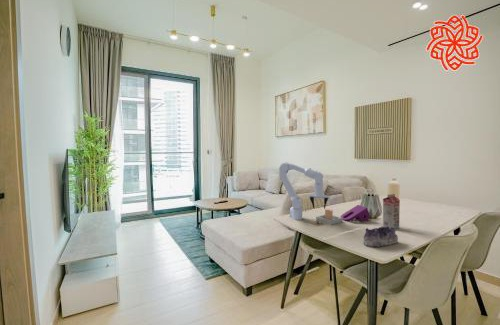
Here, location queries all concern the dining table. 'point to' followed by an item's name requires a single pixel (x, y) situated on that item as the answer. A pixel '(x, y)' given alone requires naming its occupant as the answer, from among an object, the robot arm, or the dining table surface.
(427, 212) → the dining table surface
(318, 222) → the stud plate
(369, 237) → the geode
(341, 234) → the dining table surface
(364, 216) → the mounting bracket
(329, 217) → the salmon brown block
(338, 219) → the bin
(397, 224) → the juice carton
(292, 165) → the robot arm
